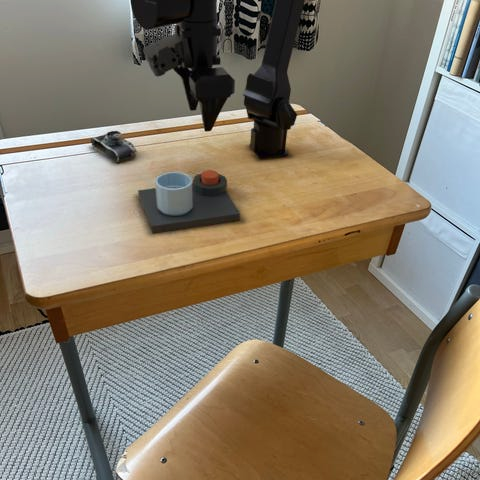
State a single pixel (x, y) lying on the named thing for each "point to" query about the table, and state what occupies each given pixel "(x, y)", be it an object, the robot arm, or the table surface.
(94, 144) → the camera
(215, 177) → the button
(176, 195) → the cup
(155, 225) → the grey base plate
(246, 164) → the table surface
